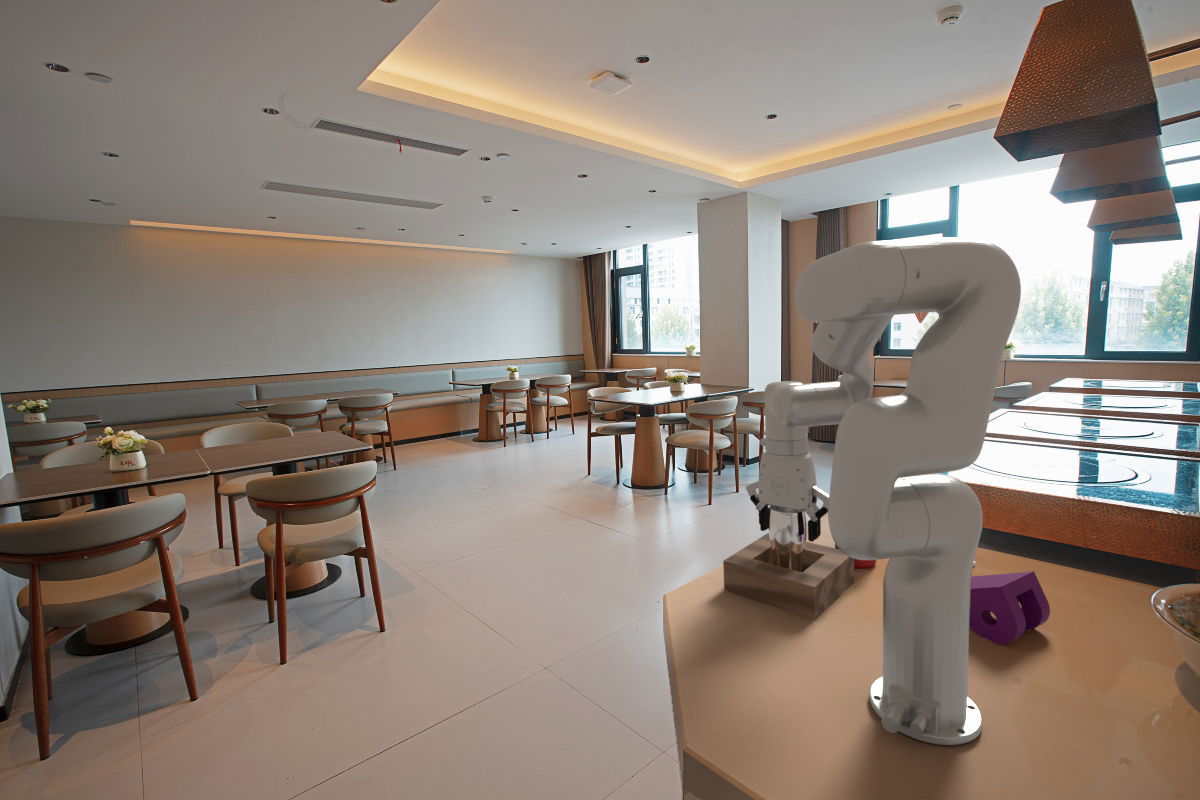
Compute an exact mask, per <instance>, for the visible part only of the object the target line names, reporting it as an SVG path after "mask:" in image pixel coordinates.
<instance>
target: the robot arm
mask: <svg viewBox="0 0 1200 800" xmlns="http://www.w3.org/2000/svg"><path fill="white" fill-rule="evenodd" d="M1021 295H1022V287H1021V279H1020V275H1019V271H1018V268H1017V266H1016V264H1015V263H1014V261H1013V259H1012V258H1011V256H1010V255H1009V254H1008V253H1007V252H1006V251H1005V250H1004V249H1002V248H1001V247H1000V246H998V245H996V244H994V243H992V242H990V241H987V240H982V239H978V238H971V237H959V236H958V237H957V236H956V237H955V236H951V237H950V236H949V237H945V236H944V237H926V238H914V239H913V238H912V239H910V238H909V239H907V238H906V239H890V240H889V239H888V240H887V239H886V240H875V241H874V240H873V241H866V242H860V243H857V244H854V245H851V246H848V247H845V248H843V249H841V250H839V251H836V252H833V253H830V254H827V255H825V256H821V257H820V258H817V259H816V260H814V261H812V262H810V264H808V265H807V267H806V268H805V269H804V270H803V271H802V273H801V274H800V275H799V278H798V280H797V282H796V286H795V290H794V304H795V307H796V311H797V312H798V315H799V316H800V317H801V318H802V319H804V320H805V321H806V322H811V323H818V324H817V326H816V328H815V330H814V332H813V334H812V337H811V341H810V343H811V344H810V345H811V349H812V352H813V353H814V355H815V356H816V357H817V359H818V360H820V362H822V363H823V364H826V366H829V367H831V368H832V369H834V370H837V371H840V372H842V374H841V376H840V377H839V378H838V379H837V380H836V381H822V382H810V383H803V382H801V381H795V380H794V381H793V380H791V381H790V380H784V381H774V382H770V383H767V384H766V386H765V388H764V416H765V417H764V418H765V419H764V420H765V421H764V422H765V437H764V438H760V442H759V444H760V446H764V447H765V448H764V449H765V452H762V453H761V457H760V464H759V472H758V481H755V482H751V483H750V484H748V485H746V486H745V489H746V491H747V493H748V496H750V497H749V499H750V501H751V502H752V503H753V504H754V505H755V510H756V511H758V524H759V525H760V526H759V529H760V531H762V532H765V531H768V530H769V506H770V505H771V506H776V507H781V508H787V509H792V510H799V511H803V510H804V511H805V514H806V515H807V516H808V517H809V520H808V521H807V540H808V542H810V543H814V541H815V540H817V539H819V537H820V536H821V533H822V532H821V531H822V529H821V528H822V527H821V525H822V523H821V521H822V520H821V518H823V517H824V516H825V515H827V517H828V518H827V519H828V528H829V531H830V532H829V533H830V534H831V537H832V540H833V542H834V545H835V544H836V545H837V547H838V548H839V549H840V550H841V551H842V552H843V553H844V554H846V555H847V556H849V557H851V558H855V559H859V560H876V561H878V560H886V559H888V561H887V564H886V566H885V570H884V575H883V581H882V676H880V677H877V678H876V679H875V680H874V681H873V682H872V683H871V685H870V687H869V702H870V705H871V707H872V709H873V711H874V712H875V714H876V715H877V716H878V717H879V718H880V719H881V721H880V722H881V725H882V727H883V729H885V730H886V731H887V732H889V733H891V734H895V733H898V732H900V733H901V734H903V735H906V736H908V737H910V738H913V739H915V740H916V741H917V740H918V741H921V742H924V743H928V744H934V745H938V746H939V745H941V746H942V745H943V746H956V745H962V744H963V745H964V744H966V743H970V742H972V741H974V740H975V739H976V738H978V737H979V735H980V734H981V731H982V726H983V718H982V713H981V711H980V710H979V708H978V706H977V705H976V703H974V701H973V700H972V699H971V698H969V697H968V693H969V692H968V691H969V689H968V688H969V686H968V685H969V657H970V656H969V653H970V651H969V649H970V648H969V647H970V626H969V618H970V593H971V577H972V576H973V568H974V567H973V562H974V561H975V556H976V553H977V549H978V546H979V543H980V539H981V535H982V530H983V523H984V521H983V520H984V519H983V518H984V516H983V509H982V505H981V502H980V499H979V497H978V496H977V494H976V493H975V491H974V490H973V489H972V487H970V486H969V485H968V484H967V483H966V482H964V481H963V480H961V479H959V478H957V477H954V476H951V475H946V474H944V473H950V472H955V471H960V470H963V469H967V468H969V467H971V465H972V464H973V463H975V462H976V461H977V460H978V459H979V456H980V455H981V452H982V449H983V446H984V442H985V438H986V434H987V429H988V424H989V420H990V414H991V411H992V405H993V402H994V401H993V400H994V395H995V390H996V386H997V382H998V375H999V369H1000V365H1001V361H1002V357H1003V354H1004V351H1005V349H1006V345H1007V344H1008V341H1009V338H1010V336H1011V333H1012V330H1013V327H1014V324H1015V322H1016V319H1017V316H1018V312H1019V309H1020V302H1021ZM934 312H935V313H937V314H938V318H937V319H936V320H935V322H933V324H931V326H930V327H929V328H928V329H927V330H926V331H925V333H924V334H923V335H922V337H921V339H919V342H918V343H917V345H916V346H915V349H914V351H913V353H912V356H911V359H910V364H909V375H908V378H907V382H906V386H905V388H904V390H903V391H902V392H901V393H900V394H898V395H897V394H896V395H889V396H888V395H887V396H886V395H885V396H876V397H871V396H872V393H873V390H874V384H875V374H874V373H875V372H874V371H875V370H874V367H873V364H872V361H871V359H870V357H869V355H870V354H871V352H872V350H873V349H874V348H875V345H876V344H877V343H878V342H879V340H880V338H881V337H882V335H883V333H884V332H885V330H886V328H887V326H889V324H890V323H891V321H892V319H893V317H894V316H895V315H911V314H914V315H915V314H922V313H934ZM831 425H838V427H837V431H836V437H835V444H834V449H833V450H834V452H833V458H832V459H833V460H832V461H833V462H832V466H831V467H832V468H831V478H830V483H829V484H830V485H829V493H827V492H826V491H824V490H823V489H821V488H819V487H818V485H817V475H816V469H815V464H814V461H813V457H812V454H810V453H809V438H808V437H809V435H808V434H809V433H808V428H812V427H819V426H831ZM941 473H942V474H941ZM818 499H819V500H820V501H822V506H821V507H820V508H819V506H818V505H817V504H818V503H817V502H818Z"/></svg>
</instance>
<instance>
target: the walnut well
mask: <svg viewBox="0 0 1200 800" xmlns="http://www.w3.org/2000/svg"><path fill="white" fill-rule="evenodd" d="M722 562H723V564H722V565H723V587H724V588H723V590H724V591H726V592H729V593H732V594H736V595H739V596H741V597H745V598H747V599H750V600H753V601H757V602H759V601H760V603H763V604H765V605H768V606H770V607H774V608H776V609H777V608H778V609H780V610H783V611H786V612H790V613H792V614H795V615H798V616H802V617H804V618H805V617H806V618H808V619H811V620H815V621H816V620H817V619H818V618H819V617H820V616H821V614H823V613H824V612H825V611H826V610H827V609H828V608H829V607H830V606H831V605H832V604H833V603H835V601H836V600H837V599H838V598H839V597H840V596H841V595H843V593H844V592H845V591H847V590H848V589H849V587H850V586H852V584H854V583H855V569H854V558H851V557H849V556H847V555H846V554H844V553H843V552H842V551H841V550H840V549H836V548H835V547H831V546H827V545H823V544H818V543H814V542H811V541H806V545H805V551H804V556H803V572H802V573H801V572H798V571H794V570H791V569H787V568H783V567H780V566H776V565H774V558H773V553H772V548H771V543H770V537H769V532H767V533H766V534H764V535H763V536H761V537H759V538H758V539H756V540H754V541H753V542H751V543H750V544H748V545H746V546H744V547H742V549H740V550H738V551H737V552H735V553H734V554H731V555H730V556H729V557H727V558H725V559H724V560H723V561H722Z"/></svg>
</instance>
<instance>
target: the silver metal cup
mask: <svg viewBox="0 0 1200 800" xmlns="http://www.w3.org/2000/svg"><path fill="white" fill-rule="evenodd" d="M768 507H769V528H768V533H769V537H770V543H771V548H772V553H773V558H774V565H776V566H780V567H783V568H787V569H791V570H794V571H798V572H801V573H802V572H803V556H804V551H805V545H806V542H807V538H808V523H807V516H806V515H807V513H806V512H805V511H804V510H803V511H799V510H792V509H787V508H781V507H776V506H771V505H768Z"/></svg>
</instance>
